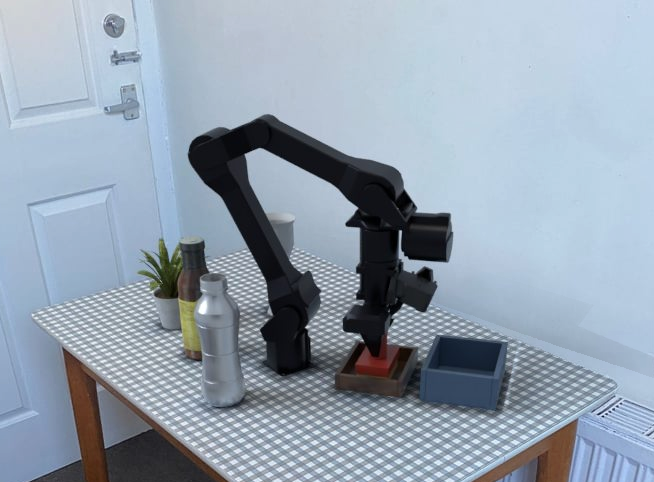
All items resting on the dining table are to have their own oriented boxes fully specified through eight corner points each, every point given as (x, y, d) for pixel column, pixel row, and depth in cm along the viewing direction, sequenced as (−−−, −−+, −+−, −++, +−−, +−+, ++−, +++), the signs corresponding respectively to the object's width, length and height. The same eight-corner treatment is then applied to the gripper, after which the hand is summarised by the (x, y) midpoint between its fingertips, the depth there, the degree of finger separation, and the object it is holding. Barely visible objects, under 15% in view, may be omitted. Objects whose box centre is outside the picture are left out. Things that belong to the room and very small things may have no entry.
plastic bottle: (203, 392, 123) (189, 270, 113) (246, 389, 123) (236, 267, 113) (202, 414, 117) (187, 287, 107) (247, 410, 117) (237, 284, 107)
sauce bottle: (215, 362, 131) (203, 248, 122) (179, 360, 133) (165, 246, 123) (226, 345, 137) (215, 234, 127) (192, 343, 138) (179, 233, 128)
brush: (388, 387, 121) (389, 344, 117) (355, 383, 122) (355, 340, 119) (399, 365, 127) (400, 323, 123) (367, 362, 129) (368, 320, 125)
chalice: (306, 308, 150) (303, 215, 141) (286, 321, 145) (282, 226, 136) (274, 301, 153) (269, 210, 144) (254, 314, 148) (247, 220, 139)
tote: (419, 403, 117) (420, 369, 115) (434, 365, 128) (436, 334, 125) (495, 413, 114) (498, 379, 111) (504, 373, 125) (508, 341, 122)
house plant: (192, 347, 137) (182, 257, 129) (122, 338, 141) (108, 250, 133) (225, 315, 148) (218, 230, 140) (160, 307, 153) (149, 225, 144)
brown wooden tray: (334, 391, 121) (334, 374, 120) (356, 356, 132) (356, 340, 130) (401, 400, 118) (401, 382, 117) (417, 363, 129) (418, 347, 127)
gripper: (421, 284, 105) (417, 386, 113) (445, 240, 120) (440, 333, 128) (341, 277, 108) (342, 377, 116) (374, 235, 124) (373, 326, 131)
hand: (377, 352), depth 123 cm, fingers closed on brush, 3 cm apart
